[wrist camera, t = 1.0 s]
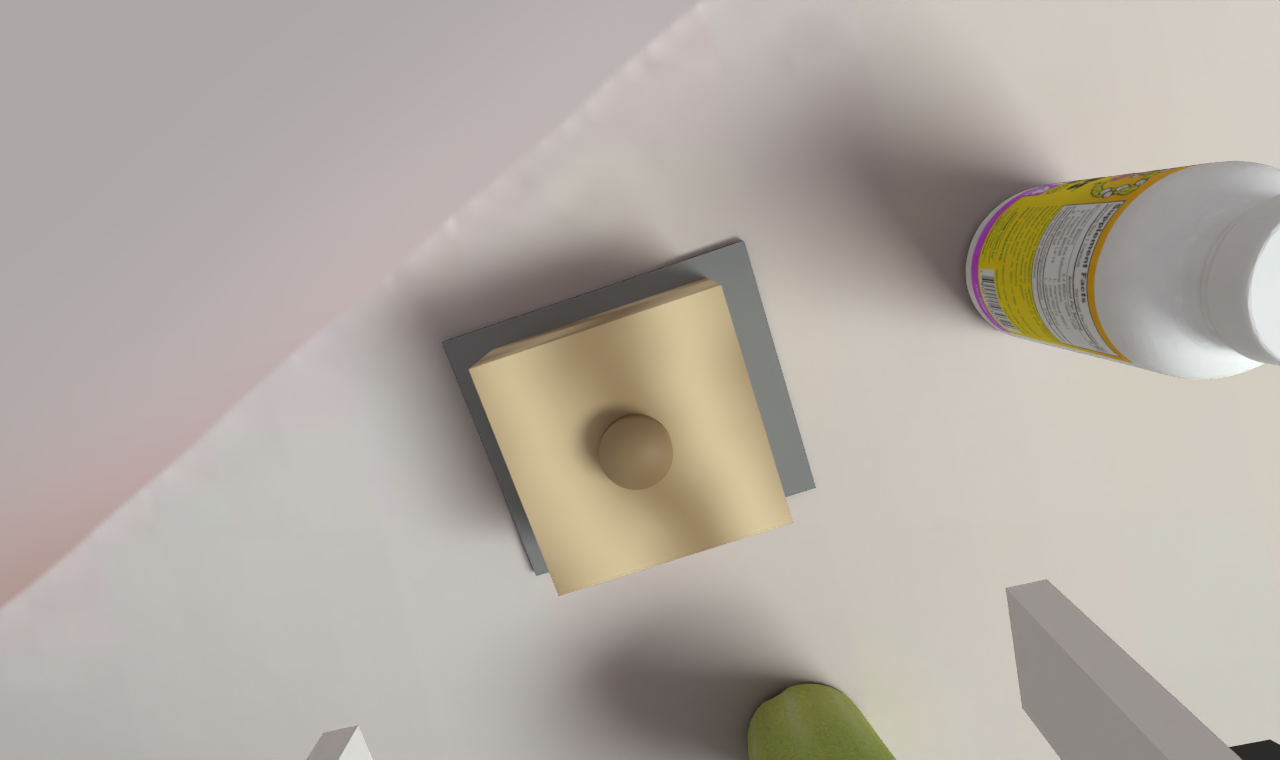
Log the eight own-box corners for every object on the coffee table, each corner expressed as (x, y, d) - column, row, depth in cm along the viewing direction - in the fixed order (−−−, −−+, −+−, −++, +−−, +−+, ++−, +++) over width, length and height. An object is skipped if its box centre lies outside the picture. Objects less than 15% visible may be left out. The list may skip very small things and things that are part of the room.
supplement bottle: (1133, 213, 29) (1528, 195, 16) (1067, 355, 30) (1384, 440, 17) (995, 164, 28) (1293, 104, 16) (934, 310, 29) (1162, 365, 17)
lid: (568, 545, 31) (556, 606, 26) (492, 349, 29) (463, 373, 24) (769, 481, 31) (798, 531, 25) (706, 277, 29) (724, 286, 23)
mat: (537, 572, 32) (536, 576, 31) (443, 341, 29) (441, 342, 29) (813, 485, 31) (815, 487, 31) (742, 240, 29) (743, 240, 28)
